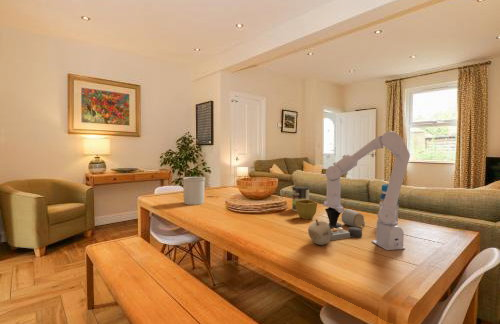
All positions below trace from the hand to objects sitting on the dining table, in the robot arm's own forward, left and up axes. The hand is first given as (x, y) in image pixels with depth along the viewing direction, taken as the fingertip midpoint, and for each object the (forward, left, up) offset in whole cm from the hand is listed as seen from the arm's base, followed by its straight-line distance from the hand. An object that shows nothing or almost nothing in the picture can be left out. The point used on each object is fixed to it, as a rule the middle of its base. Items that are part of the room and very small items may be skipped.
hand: (333, 225), depth 116 cm
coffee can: (+50, -4, -5) cm, 50 cm away
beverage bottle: (+10, -34, -5) cm, 36 cm away
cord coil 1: (+8, -5, -5) cm, 11 cm away
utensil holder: (+82, +61, -5) cm, 102 cm away
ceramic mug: (+14, -18, -5) cm, 23 cm away
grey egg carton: (0, -1, -5) cm, 5 cm away
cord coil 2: (0, -10, -5) cm, 11 cm away
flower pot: (+31, 0, -5) cm, 31 cm away
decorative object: (-8, +10, -5) cm, 13 cm away
